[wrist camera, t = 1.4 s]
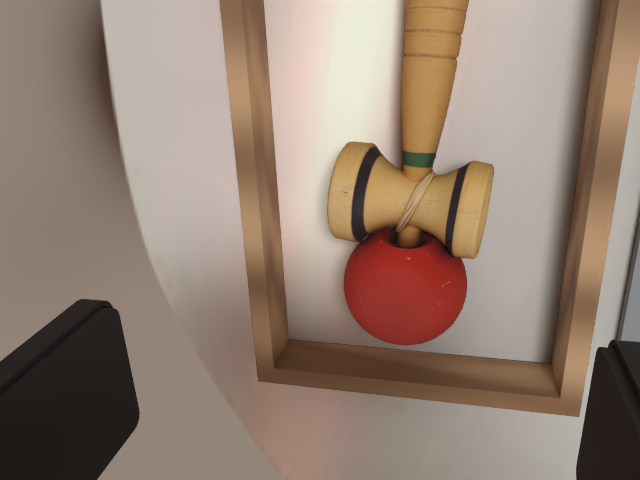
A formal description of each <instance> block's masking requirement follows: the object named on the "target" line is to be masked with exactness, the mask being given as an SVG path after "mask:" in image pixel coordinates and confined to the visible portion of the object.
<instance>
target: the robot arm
mask: <svg viewBox="0 0 640 480" xmlns="http://www.w3.org/2000/svg"><path fill="white" fill-rule="evenodd" d="M138 420H139V407H138V402H137V397H136V392H135V387H134V383H133V377H132V373H131V368H130V363H129V358H128V354H127V349H126V344H125V339H124V334H123V329H122V325H121V320H120V315H119V312H118V311H117V310H116V309H114V308H113V307H112V305H111V304H110V303H109V302H108V301H101V300H89V299H80V300H78V301H76V302H75V303H74V304H73V305H71V306H70V307H69V308H68V309H66V310H65V311H64V312H63V313H61V314H60V315H59V316H57V317H56V318H55V319H54V320H52V321H51V322H50V323H49V324H47V325H46V326H45V327H43V328H42V329H41V330H40V331H38V332H37V333H36V334H35V335H33V336H32V337H31V338H29V339H28V340H27V341H26V342H25V343H23V344H22V345H21V346H19V347H18V348H17V349H16V350H14V351H13V352H12V353H11V354H9V355H8V356H7V357H6V358H4V359H3V360H2V361H0V480H97V479H98V477H99V476H100V475H101V474H102V472H103V471H104V470H105V468H106V467H107V466H108V464H109V463H110V461H111V460H112V459H113V458H114V456H115V455H116V454H117V452H118V451H119V450H120V448H121V447H122V446H123V444H124V443H125V442H126V440H127V439H128V438H129V436H130V435H131V434H132V432H133V431H134V430H135V428H136V426H137V424H138ZM576 478H577V480H640V342H635V341H622V340H612V341H610V343H609V345H608V348H605V347H599V348H598V349H597V352H596V356H595V362H594V368H593V374H592V379H591V385H590V391H589V397H588V402H587V408H586V414H585V420H584V425H583V431H582V437H581V443H580V449H579V454H578V460H577V467H576Z"/></svg>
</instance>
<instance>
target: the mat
mask: <svg viewBox="0 0 640 480" xmlns="http://www.w3.org/2000/svg"><path fill="white" fill-rule="evenodd" d="M617 340H622V341H635V342H640V218H639V223H638V228H637V234H636V239H635V245H634V250H633V255H632V261H631V266H630V271H629V277H628V282H627V288H626V293H625V298H624V304H623V309H622V315H621V320H620V325H619V331H618V336H617Z"/></svg>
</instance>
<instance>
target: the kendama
mask: <svg viewBox="0 0 640 480" xmlns="http://www.w3.org/2000/svg"><path fill="white" fill-rule="evenodd" d="M468 2H469V0H406V13H405V31H406V33H405V34H404V50H403V53H404V54H405V56H404V57H403V68H402V96H401V114H402V148H403V149H402V152H403V170H401V169H399V168H397V167H396V166H394V165H393V164H392V163H390V162H389V161H388V160H387V159H386V158H385V157H384V156H383V155H382V154H381V152H380V151H379V149H378V148H377V146H376V145H375V144H373V143H362V142H349V143H347V144H346V145H345V147H344V148H343V149H342V151H341V152H340V154H339V156H338V158H337V161H336V163H335V166H334V169H333V173H332V177H331V182H330V187H329V194H328V208H327V213H328V223H329V227H330V230H331V232H332V234H333V235H334V236H335V237H336V238H340V239H345V240H349V241H353V242H358V241H359V242H360V243H359V244H358V245H357V247H356V248H355V249H354V251H353V253H352V254H351V256H350V258H349V260H348V263H347V266H346V269H345V275H344V291H345V298H346V301H347V305H348V307H349V309H350V311H351V313H352V315H353V316H354V318H355V320H356V321H357V322H358V323H359V324H360V326H361V327H362V328H363V329H364V330H366V331H367V332H368V333H369V334H371V335H372V336H374V337H376V338H378V339H380V340H382V341H385V342H388V343H392V344H398V345H414V344H420V343H424V342H427V341H430V340H432V339H434V338H436V337H438V336H439V335H441V334H442V333H443V332H444V331H446V330H447V329H448V328H449V327H451V325H452V324H453V323H454V321H455V320H456V319H457V317H458V315H459V313H460V311H461V310H462V308H463V304H464V302H465V298H466V292H467V277H466V271H465V267H464V264H463V262H462V259H461V258H470V259H474V258H475V257H476V256H477V254H478V252H479V248H480V245H481V241H482V236H483V232H484V227H485V223H486V217H487V212H488V206H489V201H490V194H491V188H492V182H493V174H494V167H493V165H492V164H488V163H483V162H479V161H472V162H469V163H468V164H467V165H465V166H463V167H462V168H460V169H458V170H456V171H453V172H451V173H448V174H445V175H438V176H437V175H436V174H435V173H434V171H433V170H432V168H433V167H432V166H433V162H434V159H435V157H436V152H437V148H438V145H439V141H440V137H441V133H442V130H443V126H444V122H445V118H446V114H447V110H448V106H449V101H450V97H451V92H452V87H453V82H454V77H455V72H456V67H457V60H456V58H457V57H458V55H459V50H460V45H461V34H462V33H463V28H464V23H465V18H466V11H467V7H468Z"/></svg>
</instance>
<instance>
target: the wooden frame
mask: <svg viewBox="0 0 640 480" xmlns="http://www.w3.org/2000/svg"><path fill="white" fill-rule="evenodd" d="M220 10H221V19H222V29H223V39H224V49H225V59H226V69H227V79H228V88H229V98H230V108H231V118H232V128H233V138H234V148H235V158H236V167H237V177H238V187H239V197H240V207H241V217H242V227H243V237H244V246H245V256H246V266H247V276H248V286H249V296H250V306H251V315H252V325H253V335H254V345H255V355H256V365H257V375H258V381H261V382H270V383H279V384H288V385H297V386H306V387H315V388H324V389H333V390H342V391H351V392H359V393H368V394H377V395H386V396H395V397H404V398H413V399H422V400H431V401H440V402H449V403H458V404H467V405H476V406H485V407H494V408H503V409H512V410H521V411H530V412H539V413H548V414H557V415H566V416H575V417H579V415H580V409H581V403H582V397H583V391H584V385H585V379H586V373H587V367H588V361H589V355H590V349H591V343H592V337H593V331H594V325H595V319H596V313H597V307H598V301H599V295H600V289H601V283H602V277H603V271H604V265H605V259H606V253H607V247H608V241H609V235H610V229H611V223H612V217H613V211H614V204H615V198H616V192H617V186H618V180H619V174H620V168H621V162H622V156H623V150H624V144H625V138H626V132H627V126H628V120H629V114H630V108H631V102H632V96H633V90H634V84H635V78H636V72H637V66H638V60H639V54H640V0H601V5H600V13H599V20H598V27H597V35H596V42H595V49H594V57H593V64H592V71H591V79H590V86H589V93H588V101H587V108H586V115H585V122H584V130H583V137H582V144H581V152H580V159H579V166H578V174H577V181H576V188H575V196H574V203H573V210H572V218H571V225H570V232H569V240H568V247H567V254H566V261H565V269H564V276H563V283H562V291H561V298H560V305H559V313H558V320H557V327H556V335H555V342H554V349H553V357H552V364H548V363H537V362H526V361H516V360H505V359H494V358H483V357H472V356H462V355H451V354H440V353H429V352H418V351H407V350H397V349H386V348H375V347H364V346H353V345H343V344H332V343H321V342H310V341H299V340H289V339H288V326H287V312H286V299H285V285H284V272H283V258H282V245H281V231H280V218H279V204H278V191H277V177H276V164H275V150H274V137H273V123H272V110H271V96H270V83H269V69H268V56H267V42H266V29H265V15H264V2H263V0H220Z"/></svg>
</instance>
